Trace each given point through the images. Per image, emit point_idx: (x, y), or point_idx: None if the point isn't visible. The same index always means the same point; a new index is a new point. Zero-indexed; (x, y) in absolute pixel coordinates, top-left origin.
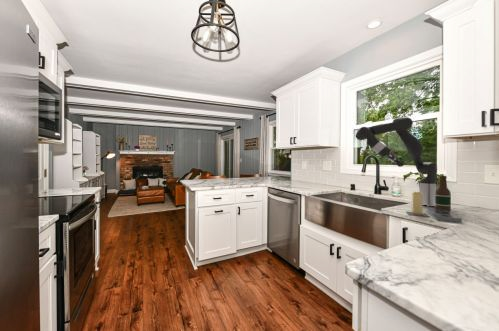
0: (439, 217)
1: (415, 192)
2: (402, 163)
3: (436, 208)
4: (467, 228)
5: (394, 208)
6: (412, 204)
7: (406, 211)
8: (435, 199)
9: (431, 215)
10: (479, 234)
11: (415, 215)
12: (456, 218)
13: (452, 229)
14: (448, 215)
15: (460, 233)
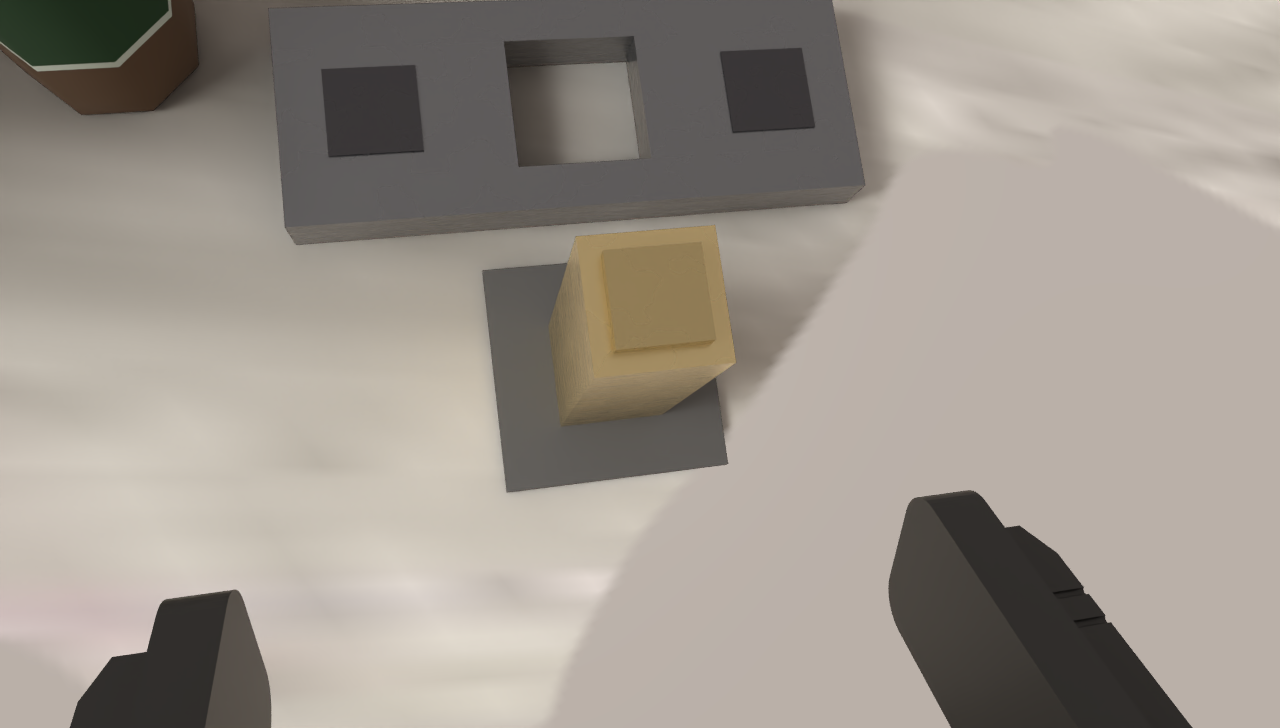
0: (858, 173)
1: (715, 323)
2: (1015, 543)
3: (137, 97)
4: (1030, 32)
5: (264, 658)
6: (632, 402)
7: (506, 488)
8: (9, 29)
9: (585, 221)
10: (1188, 8)
11: (716, 392)
12: (835, 32)
13: (1158, 151)
14: (740, 72)
15: (1255, 125)
